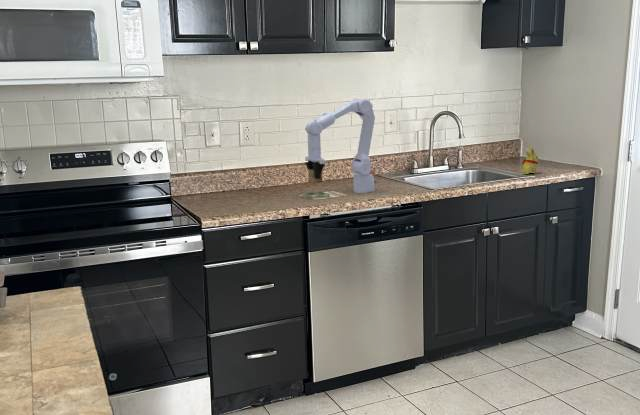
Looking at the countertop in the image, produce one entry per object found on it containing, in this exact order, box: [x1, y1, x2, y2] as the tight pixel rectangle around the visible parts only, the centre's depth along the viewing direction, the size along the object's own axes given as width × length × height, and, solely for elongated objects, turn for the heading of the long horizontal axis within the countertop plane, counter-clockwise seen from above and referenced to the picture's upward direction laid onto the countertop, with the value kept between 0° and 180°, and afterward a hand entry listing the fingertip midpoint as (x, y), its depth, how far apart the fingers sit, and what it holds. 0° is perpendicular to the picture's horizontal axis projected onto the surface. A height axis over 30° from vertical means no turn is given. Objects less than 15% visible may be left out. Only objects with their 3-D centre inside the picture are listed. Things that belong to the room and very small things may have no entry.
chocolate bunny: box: [521, 145, 539, 174], centre depth 340 cm, size 7×11×15 cm, turn 123°
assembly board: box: [298, 190, 348, 201], centre depth 293 cm, size 18×14×2 cm
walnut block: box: [308, 169, 323, 184], centre depth 290 cm, size 4×4×6 cm
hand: (315, 178), depth 290 cm, fingers closed on walnut block, 4 cm apart
